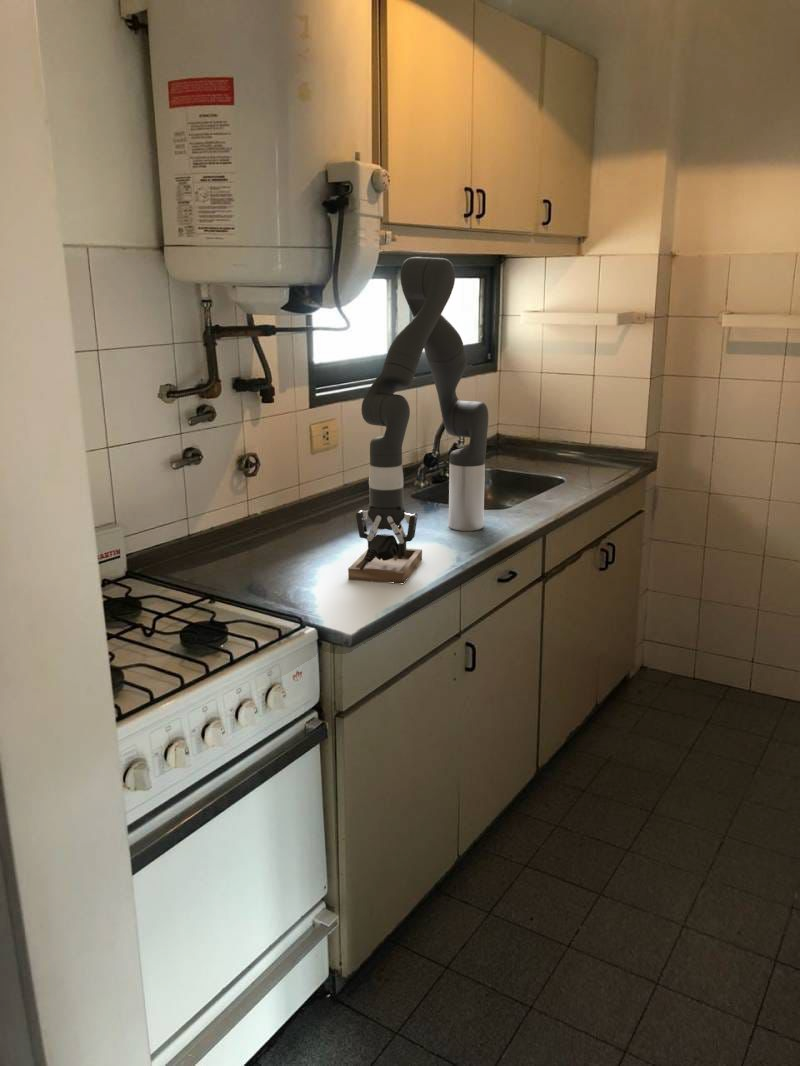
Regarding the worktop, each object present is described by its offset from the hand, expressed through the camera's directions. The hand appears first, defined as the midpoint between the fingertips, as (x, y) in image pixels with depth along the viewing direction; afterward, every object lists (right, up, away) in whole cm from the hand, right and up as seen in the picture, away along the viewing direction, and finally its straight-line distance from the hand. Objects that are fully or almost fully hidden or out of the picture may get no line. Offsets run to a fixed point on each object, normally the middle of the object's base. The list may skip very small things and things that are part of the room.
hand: (387, 556), depth 192 cm
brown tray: (0, -3, +1) cm, 3 cm away
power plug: (-2, -2, -3) cm, 4 cm away
